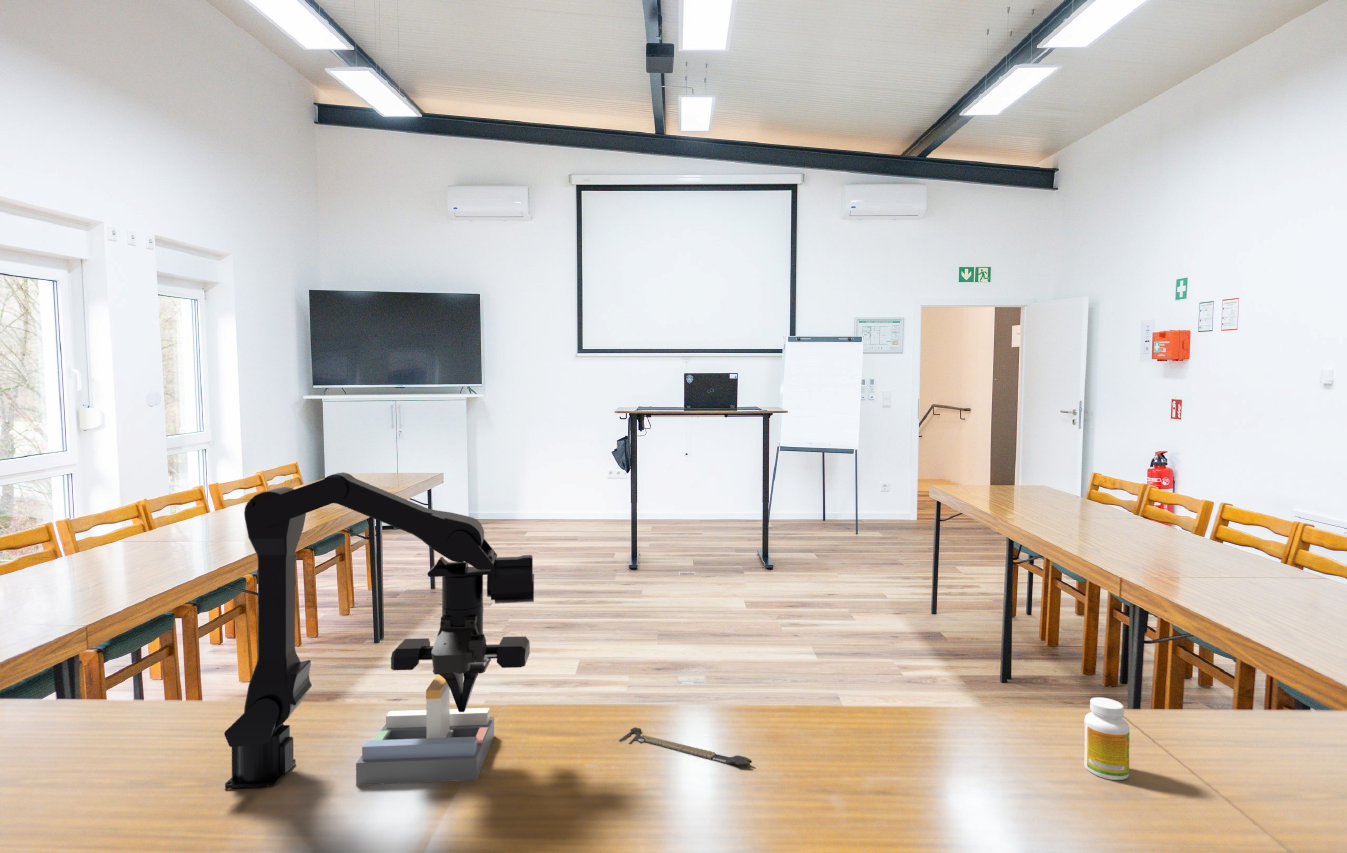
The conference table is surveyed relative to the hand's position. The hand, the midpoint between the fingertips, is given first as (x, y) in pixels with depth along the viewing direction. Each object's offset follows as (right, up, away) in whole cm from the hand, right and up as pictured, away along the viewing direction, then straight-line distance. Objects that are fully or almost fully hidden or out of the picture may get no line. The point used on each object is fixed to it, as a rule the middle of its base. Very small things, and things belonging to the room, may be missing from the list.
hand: (462, 710), depth 99 cm
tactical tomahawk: (+32, -8, +1) cm, 33 cm away
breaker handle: (-3, -5, 0) cm, 6 cm away
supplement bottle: (+92, -7, -3) cm, 92 cm away
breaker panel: (-5, -7, 0) cm, 8 cm away
